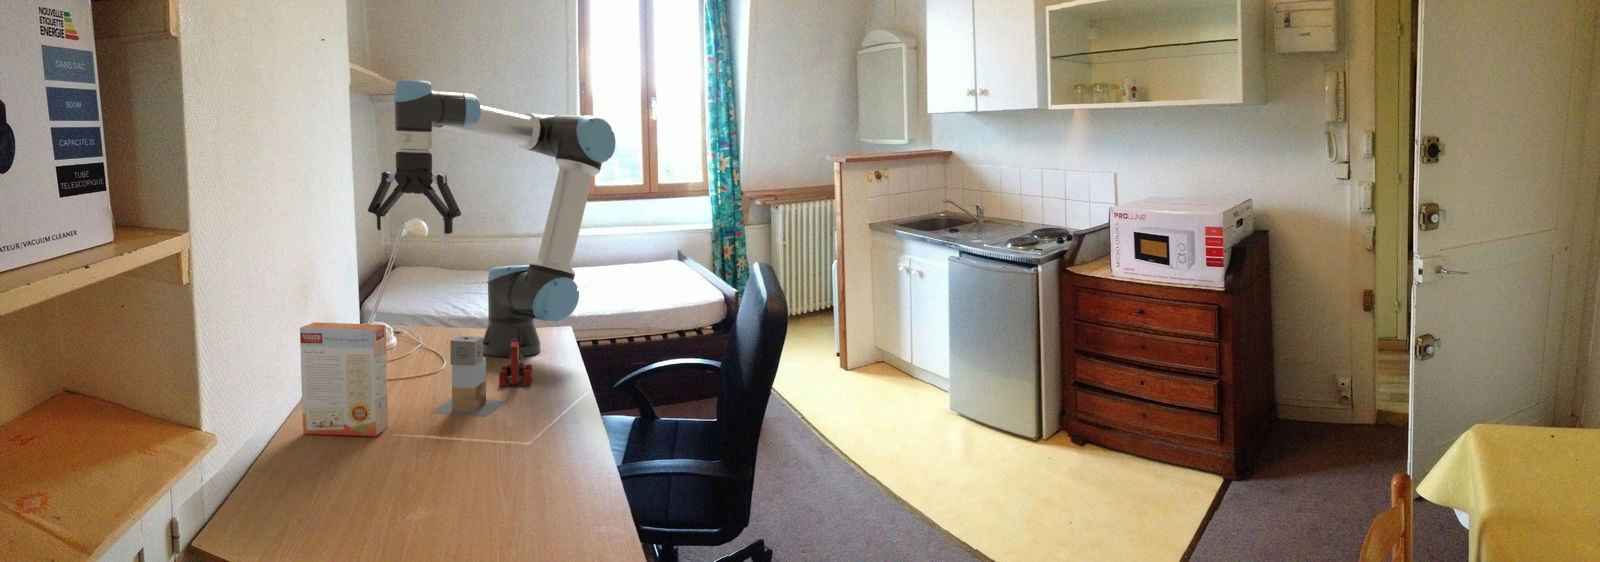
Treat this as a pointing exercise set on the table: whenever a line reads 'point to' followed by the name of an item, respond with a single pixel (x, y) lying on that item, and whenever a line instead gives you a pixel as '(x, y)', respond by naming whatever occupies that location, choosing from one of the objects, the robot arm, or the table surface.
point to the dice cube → (466, 350)
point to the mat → (482, 411)
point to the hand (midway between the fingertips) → (415, 246)
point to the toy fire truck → (515, 368)
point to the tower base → (468, 398)
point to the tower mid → (468, 375)
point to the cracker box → (344, 379)
